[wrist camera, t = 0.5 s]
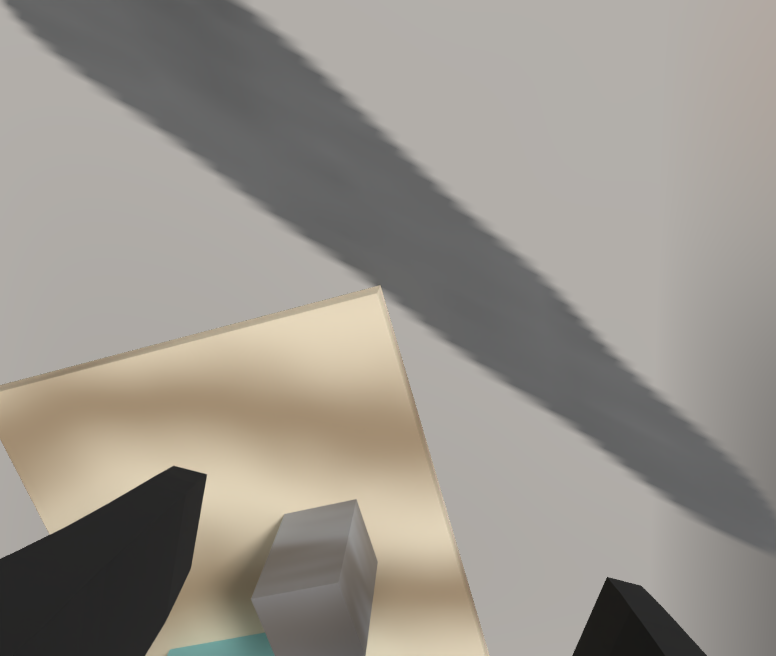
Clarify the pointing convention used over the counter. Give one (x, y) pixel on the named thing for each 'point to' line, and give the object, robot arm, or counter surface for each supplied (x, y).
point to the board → (267, 479)
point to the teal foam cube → (229, 647)
